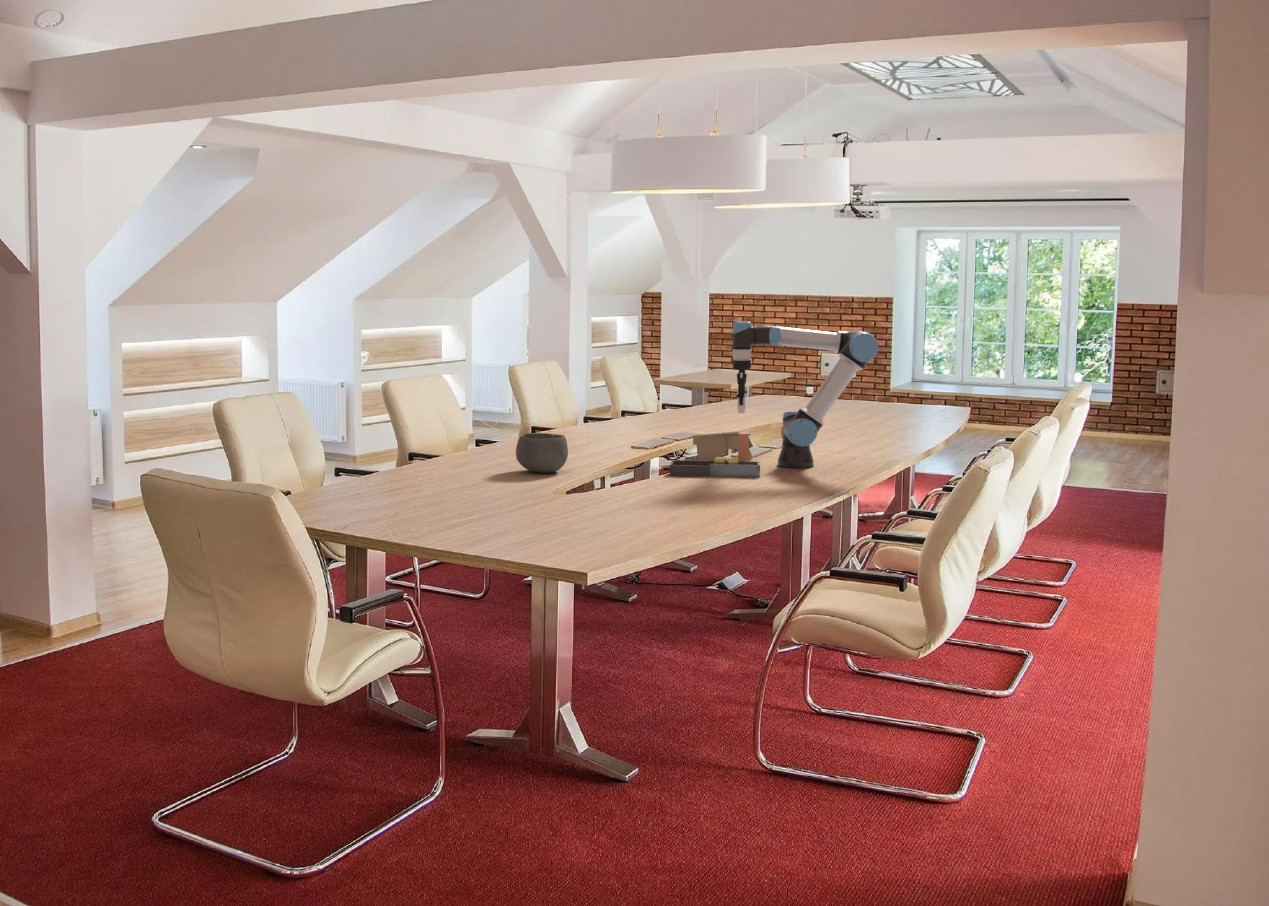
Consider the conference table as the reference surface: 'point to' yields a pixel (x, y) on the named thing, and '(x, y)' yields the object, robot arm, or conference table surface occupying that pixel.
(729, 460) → the tan cube
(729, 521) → the conference table surface
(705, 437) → the gun
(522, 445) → the bowl
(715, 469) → the rail
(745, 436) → the salmon pink rectangular prism
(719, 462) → the tan wooden cube
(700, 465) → the tray
